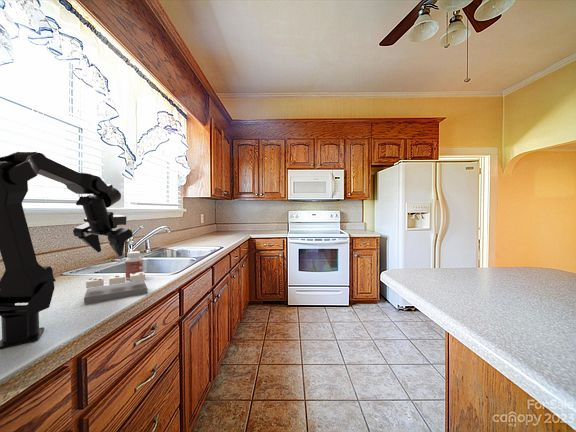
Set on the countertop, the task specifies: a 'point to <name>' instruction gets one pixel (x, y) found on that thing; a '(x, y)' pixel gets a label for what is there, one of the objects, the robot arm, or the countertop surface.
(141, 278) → the two-dot button
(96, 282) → the three-dot button
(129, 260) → the pill bottle
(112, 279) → the one-dot button
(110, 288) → the button panel
